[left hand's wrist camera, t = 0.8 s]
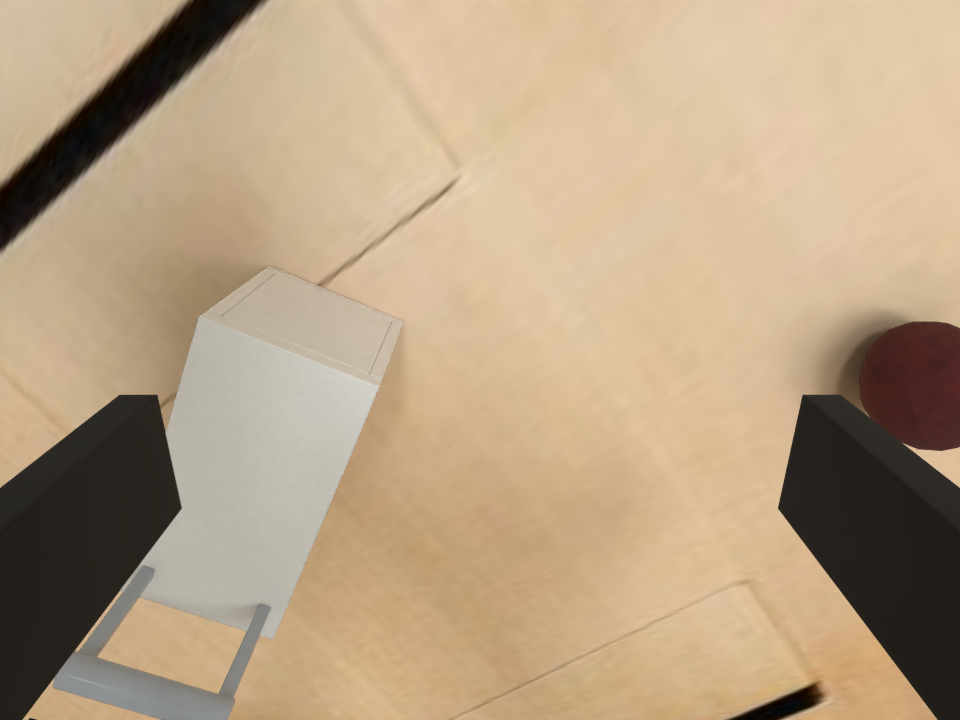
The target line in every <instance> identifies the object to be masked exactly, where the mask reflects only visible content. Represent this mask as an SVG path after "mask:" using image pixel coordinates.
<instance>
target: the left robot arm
mask: <svg viewBox="0 0 960 720" xmlns="http://www.w3.org/2000/svg"><path fill="white" fill-rule="evenodd" d="M181 509H182V506H181V502H180V497H179V492H178V488H177V483H176V479H175V474H174V469H173V465H172V460H171V456H170V451H169V446H168V442H167V437H166V433H165V428H164V423H163V419H162V414H161V410H160V405H159V401H158V396H157V395H119V396H118V397H116V398H115V399H114V400H112V401H111V402H110V403H109V404H107V405H106V406H105V407H103V408H102V409H101V410H100V411H98V412H97V413H96V414H95V415H93V416H92V417H91V418H89V419H88V420H87V421H86V422H84V423H83V424H82V425H80V426H79V427H78V428H77V429H75V430H74V431H73V432H71V433H70V434H69V435H68V436H66V437H65V438H64V439H62V440H61V441H60V442H59V443H57V444H56V445H55V446H53V447H52V448H51V449H50V450H48V451H47V452H46V453H44V454H43V455H42V456H41V457H39V458H38V459H37V460H35V461H34V462H33V463H32V464H30V465H29V466H28V467H27V468H25V469H24V470H23V471H21V472H20V473H19V474H18V475H16V476H15V477H14V478H12V479H11V480H10V481H9V482H7V483H6V484H5V485H3V486H2V487H1V488H0V720H22V719H23V718H24V717H25V715H26V714H27V713H28V712H29V710H30V709H31V708H32V706H33V705H34V704H35V702H36V701H37V700H38V698H39V697H40V696H41V694H42V693H43V692H44V690H45V689H46V688H47V686H48V685H49V684H50V682H51V681H52V680H53V678H54V677H55V676H56V674H57V673H58V672H59V670H60V669H61V668H62V667H63V665H64V664H65V663H66V661H67V660H68V659H69V657H70V656H71V655H72V653H73V652H74V651H75V649H76V648H77V647H78V645H79V644H80V643H81V641H82V640H83V639H84V637H85V636H86V635H87V633H88V632H89V631H90V629H91V628H92V627H93V625H94V624H95V623H96V622H97V620H98V619H99V618H100V616H101V615H102V614H103V612H104V611H105V610H106V608H107V607H108V606H109V604H110V603H111V602H112V600H113V599H114V598H115V596H116V595H117V594H118V592H119V591H120V590H121V588H122V587H123V586H124V584H125V583H126V582H127V580H128V579H129V578H130V577H131V575H132V574H133V573H134V571H135V570H136V569H137V567H138V566H139V565H140V563H141V562H142V561H143V559H144V558H145V557H146V555H147V554H148V553H149V551H150V550H151V549H152V547H153V546H154V545H155V543H156V542H157V541H158V539H159V538H160V537H161V535H162V534H163V533H164V532H165V530H166V529H167V528H168V526H169V525H170V524H171V522H172V521H173V520H174V518H175V517H176V516H177V514H178V513H179V512H180V510H181ZM778 509H779V510H780V512H781V513H782V514H783V516H784V517H785V518H786V520H787V521H788V522H789V524H790V525H791V526H792V528H793V529H794V530H795V532H796V533H797V534H798V535H799V537H800V538H801V539H802V541H803V542H804V543H805V545H806V546H807V547H808V549H809V550H810V551H811V553H812V554H813V555H814V557H815V558H816V559H817V561H818V562H819V563H820V565H821V566H822V567H823V569H824V570H825V571H826V573H827V574H828V575H829V577H830V578H831V579H832V580H833V582H834V583H835V584H836V586H837V587H838V588H839V590H840V591H841V592H842V594H843V595H844V596H845V598H846V599H847V600H848V602H849V603H850V604H851V606H852V607H853V608H854V610H855V611H856V612H857V614H858V615H859V616H860V618H861V619H862V620H863V622H864V623H865V624H866V625H867V627H868V628H869V629H870V631H871V632H872V633H873V635H874V636H875V637H876V639H877V640H878V641H879V643H880V644H881V645H882V647H883V648H884V649H885V651H886V652H887V653H888V655H889V656H890V657H891V659H892V660H893V661H894V663H895V664H896V665H897V667H898V668H899V669H900V670H901V672H902V673H903V674H904V676H905V677H906V678H907V680H908V681H909V682H910V684H911V685H912V686H913V688H914V689H915V690H916V692H917V693H918V694H919V696H920V697H921V698H922V700H923V701H924V702H925V704H926V705H927V706H928V708H929V709H930V710H931V712H932V713H933V714H934V715H935V717H936V718H937V719H938V720H960V488H959V487H958V486H957V485H955V484H954V483H953V482H951V481H950V480H949V479H948V478H946V477H945V476H944V475H942V474H941V473H940V472H939V471H937V470H936V469H935V468H933V467H932V466H931V465H930V464H928V463H927V462H926V461H925V460H923V459H922V458H921V457H919V456H918V455H917V454H916V453H914V452H913V451H912V450H910V449H909V448H908V447H907V446H905V445H904V444H903V443H901V442H900V441H899V440H898V439H896V438H895V437H894V436H892V435H891V434H890V433H889V432H887V431H886V430H885V429H883V428H882V427H881V426H880V425H878V424H877V423H876V422H874V421H873V420H872V419H871V418H869V417H868V416H867V415H865V414H864V413H863V412H862V411H860V410H859V409H858V408H857V407H855V406H854V405H853V404H851V403H850V402H849V401H848V400H846V399H845V398H844V397H842V396H841V395H803V396H802V401H801V405H800V410H799V414H798V419H797V423H796V428H795V433H794V437H793V442H792V446H791V451H790V456H789V460H788V465H787V469H786V474H785V479H784V483H783V488H782V492H781V497H780V502H779V506H778Z"/></svg>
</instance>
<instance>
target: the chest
mask: <svg viewBox="0 0 960 720" xmlns="http://www.w3.org/2000/svg"><path fill="white" fill-rule="evenodd" d="M207 311H210V312H212V313H215V314H217V315H220V316H222V317H225V318H227V319H230V320H232V321H235V322H237V323H240V324H242V325H245V326H247V327H250V328H252V329H255V330H257V331H260V332H262V333H265V334H268V335H270V336H273V337H275V338H278V339H280V340H283V341H285V342H288V343H290V344H293V345H295V346H298V347H300V348H303V349H305V350H308V351H310V352H313V353H315V354H318V355H320V356H323V357H325V358H328V359H330V360H333V361H335V362H338V363H341V364H343V365H346V366H348V367H351V368H353V369H356V370H358V371H361V372H363V373H366V374H368V375H371V376H373V377H376V378H378V379H381V380H382V379H383V377H384V374H385V371H386V368H387V366H388V363H389V360H390V358H391V355H392V352H393V349H394V347H395V344H396V341H397V339H398V336H399V333H400V331H401V328H402V325H403V322H404V321H402V320H399V319H397V318H395V317H392V316H390V315H387V314H385V313H383V312H380V311H378V310H375V309H373V308H370V307H368V306H366V305H363V304H361V303H358V302H356V301H354V300H351V299H349V298H346V297H344V296H342V295H339V294H337V293H334V292H332V291H330V290H327V289H325V288H322V287H320V286H317V285H315V284H313V283H310V282H308V281H305V280H303V279H301V278H298V277H296V276H293V275H291V274H289V273H286V272H284V271H281V270H279V269H277V268H274V267H272V266H268V267H267V268H265V269H264V270H263V271H261V272H260V273H258V274H257V275H256V276H254V277H253V278H251V279H250V280H249V281H247V282H246V283H244V284H243V285H242V286H240V287H239V288H237V289H236V290H235V291H233V292H232V293H231V294H229V295H228V296H226V297H225V298H224V299H222V300H221V301H219V302H218V303H217V304H215V305H214V306H212V307H211V308H210V309H208V310H207Z"/></svg>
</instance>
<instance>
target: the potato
mask: <svg viewBox="0 0 960 720" xmlns="http://www.w3.org/2000/svg"><path fill="white" fill-rule="evenodd" d="M859 385H860V399H861V402H862V404H863V406H864V408H865V410H866V411H867V413H868V414H869V416H870V418H871V419H872V420H873V421H874V422H876V423H877V424H878V425H880V426H881V427H882V428H883V429H885V430H886V431H887V432H889V433H890V434H891V435H892V436H894V437H895V438H896V439H898V440H899V441H900V442H902V443H904V444H906V445H909V446H911V447H914V448H917V449H922V450H936V451H943V450H949V449H954V448H958V447H960V328H958V327H956V326H953V325H951V324H948V323H942V322H911V323H906V324H903V325H901V326H898V327H895V328H893V329H890V330H888V331H887V332H886V333H885V334H883V335H882V336H881V337H880V338H878V339H877V340H876V341H875V343H874V344H873V345H872V347H871V348H870V350H869V351H868V353H867V354H866V357H865V361H864V364H863V367H862V370H861V374H860V378H859Z"/></svg>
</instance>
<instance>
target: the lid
mask: <svg viewBox="0 0 960 720" xmlns="http://www.w3.org/2000/svg"><path fill="white" fill-rule="evenodd" d="M381 382H382V380H381V379H378V378H376V377H373V376H371V375H368V374H366V373H363V372H361V371H358V370H356V369H353V368H351V367H348V366H346V365H343V364H341V363H338V362H335V361H333V360H330V359H328V358H325V357H323V356H320V355H318V354H315V353H313V352H310V351H308V350H305V349H303V348H300V347H298V346H295V345H293V344H290V343H288V342H285V341H283V340H280V339H278V338H275V337H273V336H270V335H268V334H265V333H262V332H260V331H257V330H255V329H252V328H250V327H247V326H245V325H242V324H240V323H237V322H235V321H232V320H230V319H227V318H225V317H222V316H220V315H217V314H215V313H212V312H210V311H206V312H204V313H203V314H202V315H200V316H199V318H198V321H197V325H196V328H195V332H194V335H193V339H192V342H191V346H190V349H189V353H188V356H187V360H186V363H185V367H184V370H183V374H182V377H181V381H180V384H179V388H178V391H177V395H176V398H175V402H174V405H173V409H172V412H171V416H170V419H169V422H168V426H167V429H166V437H167V442H168V446H169V451H170V456H171V460H172V465H173V469H174V474H175V479H176V483H177V488H178V492H179V497H180V502H181V506H182V509H181V510H180V512H179V513H178V514H177V516H176V517H175V518H174V520H173V521H172V522H171V524H170V525H169V526H168V528H167V529H166V530H165V532H164V533H163V534H162V535H161V537H160V538H159V539H158V541H157V542H156V543H155V545H154V546H153V547H152V549H151V550H150V551H149V553H148V554H147V555H146V557H145V558H144V559H143V561H142V562H141V563H140V565H139V566H138V567H137V569H136V570H135V571H134V573H133V574H132V575H131V577H130V578H129V579H128V580H127V582H126V583H125V584H124V586H123V587H122V588H121V591H122V592H123V593H122V594H121V596H120V597H119V598H118V600H117V601H116V602H115V604H114V605H113V606H112V608H111V609H110V610H109V612H108V613H107V614H106V616H105V617H104V618H103V620H102V621H101V622H100V624H99V625H98V626H97V628H96V629H95V630H94V632H93V633H92V634H91V636H90V637H89V638H88V640H87V641H86V642H85V644H84V645H83V646H82V648H81V649H80V650H79V652H77V651H74V652H73V653H72V655H71V656H70V657H69V659H68V660H67V661H66V663H65V664H64V665H63V667H62V668H61V669H60V670H59V672H58V673H57V675H56V677H55V679H54V683H53V688H55V689H58V690H62V691H65V692H68V693H72V694H75V695H79V696H82V697H86V698H89V699H93V700H96V701H99V702H103V703H106V704H110V705H113V706H117V707H120V708H124V709H127V710H130V711H134V712H137V713H141V714H144V715H148V716H151V717H154V718H158V719H161V720H228V717H229V715H230V712H231V710H232V708H233V705H234V703H235V699H233V697H234V695H235V692H236V690H237V688H238V685H239V683H240V681H241V678H242V676H243V674H244V671H245V669H246V666H247V664H248V662H249V659H250V657H251V655H252V652H253V650H254V648H255V645H256V643H257V641H258V638H259V636H262V637H266V638H269V639H274V637H275V634H276V632H277V630H278V627H279V625H280V622H281V620H282V618H283V615H284V613H285V611H286V608H287V606H288V603H289V601H290V599H291V596H292V594H293V592H294V589H295V587H296V584H297V582H298V580H299V577H300V575H301V573H302V570H303V568H304V565H305V563H306V561H307V558H308V556H309V554H310V551H311V549H312V546H313V544H314V542H315V539H316V537H317V535H318V532H319V530H320V528H321V525H322V523H323V520H324V518H325V516H326V513H327V511H328V509H329V506H330V504H331V501H332V499H333V497H334V494H335V492H336V490H337V487H338V485H339V482H340V480H341V478H342V475H343V473H344V471H345V468H346V466H347V463H348V461H349V459H350V456H351V454H352V452H353V449H354V447H355V444H356V442H357V440H358V437H359V435H360V433H361V430H362V428H363V425H364V423H365V421H366V418H367V416H368V414H369V411H370V409H371V406H372V404H373V402H374V399H375V397H376V395H377V392H378V390H379V387H380V385H381ZM139 597H140V598H144V599H147V600H150V601H153V602H156V603H159V604H162V605H165V606H169V607H172V608H175V609H178V610H181V611H184V612H187V613H190V614H194V615H197V616H200V617H203V618H206V619H209V620H212V621H216V622H219V623H222V624H225V625H228V626H231V627H234V628H237V629H241V630H244V631H247V632H246V634H245V637H244V639H243V641H242V643H241V646H240V648H239V650H238V652H237V654H236V657H235V659H234V661H233V663H232V665H231V668H230V670H229V672H228V674H227V677H226V679H225V681H224V683H223V685H222V688H221V690H220V692H219V694H216V693H213V692H210V691H206V690H203V689H200V688H197V687H193V686H190V685H187V684H183V683H180V682H177V681H173V680H170V679H167V678H163V677H160V676H157V675H153V674H150V673H147V672H143V671H140V670H137V669H133V668H130V667H127V666H124V665H120V664H117V663H114V662H110V661H107V660H104V659H100V658H97V656H98V655H99V653H100V652H101V650H102V649H103V648H104V646H105V645H106V643H107V642H108V640H109V639H110V638H111V636H112V635H113V633H114V632H115V631H116V629H117V628H118V626H119V625H120V623H121V622H122V621H123V619H124V618H125V616H126V615H127V614H128V612H129V611H130V609H131V608H132V607H133V605H134V604H135V602H136V601H137V599H138V598H139Z"/></svg>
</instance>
